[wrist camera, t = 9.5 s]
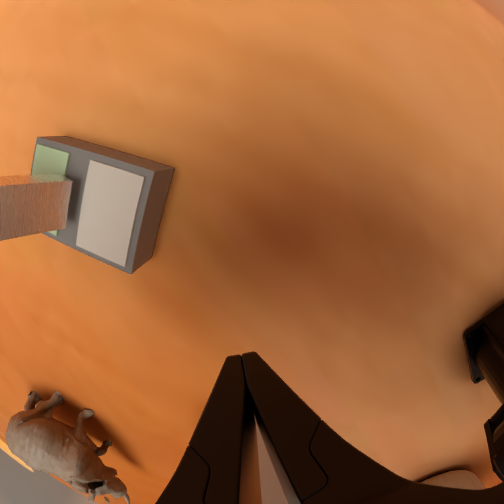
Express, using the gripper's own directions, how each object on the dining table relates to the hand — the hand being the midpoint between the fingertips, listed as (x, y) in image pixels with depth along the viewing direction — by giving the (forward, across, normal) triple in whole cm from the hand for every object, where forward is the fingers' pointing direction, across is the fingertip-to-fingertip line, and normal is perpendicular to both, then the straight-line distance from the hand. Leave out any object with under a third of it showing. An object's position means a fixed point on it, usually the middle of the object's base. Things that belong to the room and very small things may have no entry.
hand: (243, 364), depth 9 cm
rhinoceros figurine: (+14, +20, +20) cm, 31 cm away
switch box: (+13, +8, -4) cm, 16 cm away
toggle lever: (+10, +8, -4) cm, 14 cm away
